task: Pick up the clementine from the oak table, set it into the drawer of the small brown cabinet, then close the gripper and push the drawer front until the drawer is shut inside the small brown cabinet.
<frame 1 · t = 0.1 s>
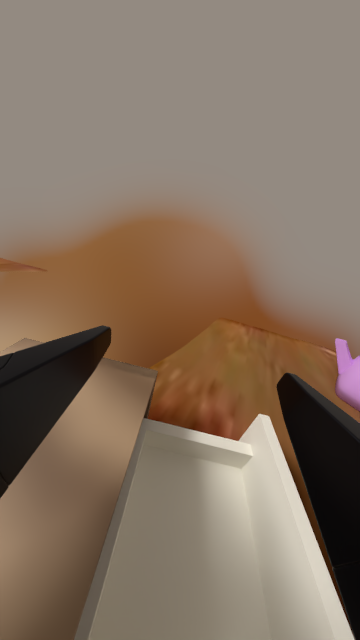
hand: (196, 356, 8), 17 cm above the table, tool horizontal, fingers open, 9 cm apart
small brown cabinet: (42, 504, 13), on the table
drawer: (206, 528, 11), point 4 cm above the table, slide at 11.0 cm
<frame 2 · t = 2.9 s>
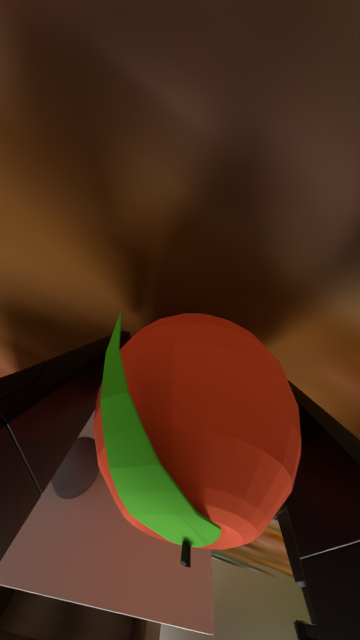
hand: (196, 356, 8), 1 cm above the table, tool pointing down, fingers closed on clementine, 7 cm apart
small brown cabinet: (109, 488, 21), on the table
drawer: (84, 504, 12), point 4 cm above the table, slide at 11.0 cm
clementine: (191, 338, 9), on the table, touching gripper
when the fingers open (5 cm above the table, at t = 6.6 s): clementine drops 2 cm, resting on drawer.
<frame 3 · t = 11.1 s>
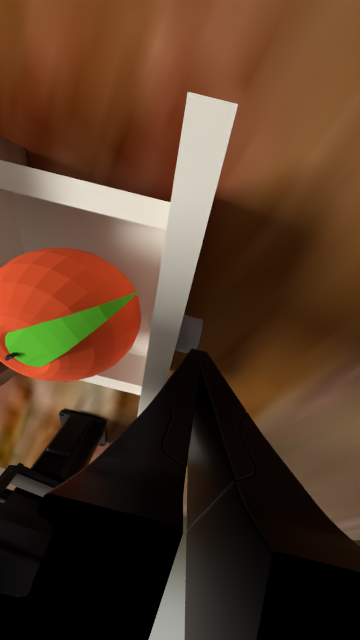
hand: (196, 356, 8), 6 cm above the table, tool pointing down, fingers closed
drawer: (84, 308, 10), point 4 cm above the table, slide at 10.7 cm, touching clementine, gripper
clementine: (115, 292, 12), point 1 cm above the table, touching drawer
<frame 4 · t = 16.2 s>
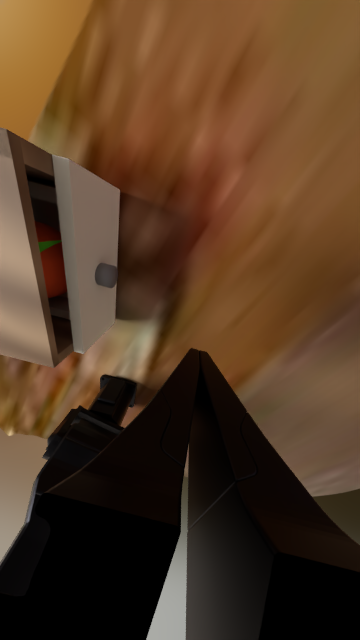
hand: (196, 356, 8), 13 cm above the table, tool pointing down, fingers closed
small brown cabinet: (59, 252, 20), on the table
drawer: (44, 259, 16), point 4 cm above the table, slide at 0.0 cm, touching clementine
clementine: (70, 255, 18), point 1 cm above the table, touching drawer
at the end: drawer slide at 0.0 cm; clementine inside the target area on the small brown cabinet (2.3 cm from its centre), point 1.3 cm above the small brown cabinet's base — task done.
